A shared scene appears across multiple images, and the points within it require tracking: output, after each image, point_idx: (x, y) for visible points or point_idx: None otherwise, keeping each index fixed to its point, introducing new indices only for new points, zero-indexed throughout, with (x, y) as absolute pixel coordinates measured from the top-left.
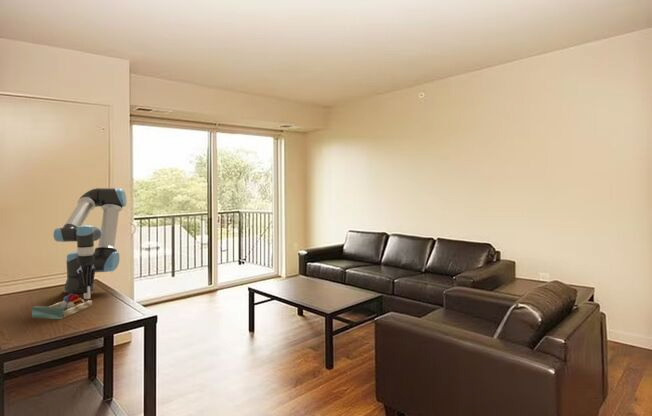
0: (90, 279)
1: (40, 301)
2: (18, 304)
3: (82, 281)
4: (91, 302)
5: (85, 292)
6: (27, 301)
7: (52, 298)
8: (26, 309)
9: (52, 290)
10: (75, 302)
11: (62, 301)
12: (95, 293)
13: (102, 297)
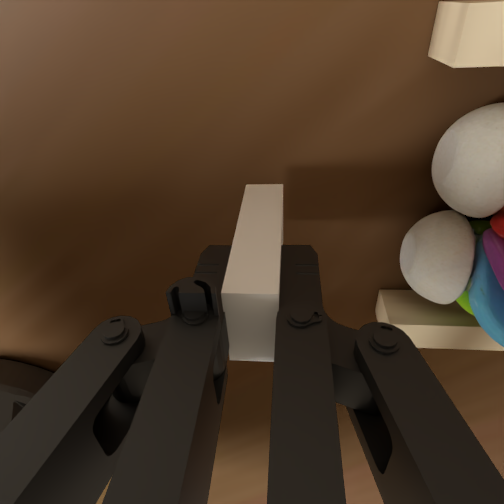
0: (159, 425)
1: None
2: (363, 498)
3: (487, 469)
4: (469, 2)
5: (315, 255)
6: None
7: (233, 442)
8: (480, 443)
9: (104, 494)
10: (466, 223)
11: (455, 341)
12: (19, 291)
13: (82, 133)
